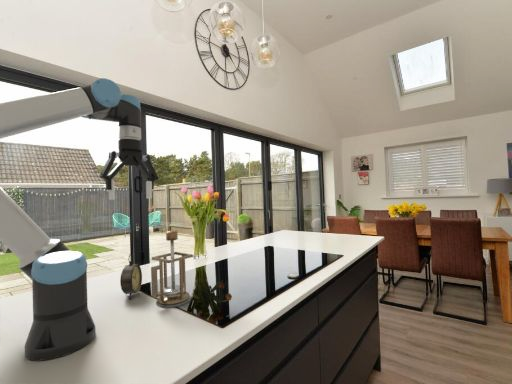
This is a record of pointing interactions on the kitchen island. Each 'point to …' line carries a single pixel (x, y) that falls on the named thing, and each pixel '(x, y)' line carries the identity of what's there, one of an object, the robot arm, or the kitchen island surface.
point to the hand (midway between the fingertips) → (131, 199)
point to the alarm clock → (131, 278)
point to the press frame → (166, 300)
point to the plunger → (172, 265)
